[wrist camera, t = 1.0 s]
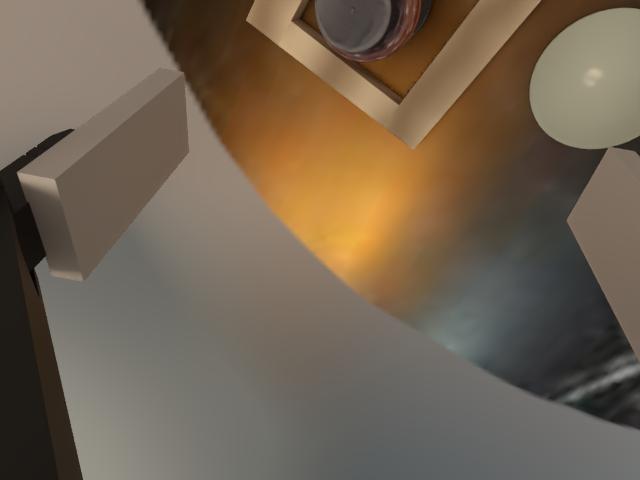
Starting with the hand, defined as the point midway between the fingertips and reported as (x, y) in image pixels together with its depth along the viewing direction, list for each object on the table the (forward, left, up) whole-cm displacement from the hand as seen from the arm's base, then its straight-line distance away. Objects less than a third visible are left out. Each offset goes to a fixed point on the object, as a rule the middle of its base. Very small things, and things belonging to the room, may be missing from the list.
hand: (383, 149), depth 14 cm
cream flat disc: (-10, -5, -22) cm, 25 cm away
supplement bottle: (+5, -1, -22) cm, 23 cm away
